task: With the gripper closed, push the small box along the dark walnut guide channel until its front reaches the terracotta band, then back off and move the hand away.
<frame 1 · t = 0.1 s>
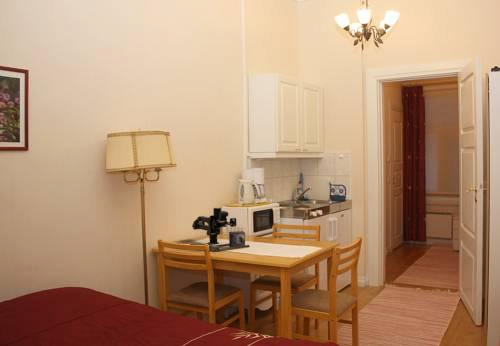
hand: (230, 224, 328), 17 cm above the table, tool horizontal, fingers open, 9 cm apart
guide channel: (229, 247, 330), on the table
small box: (237, 246, 334), on the table
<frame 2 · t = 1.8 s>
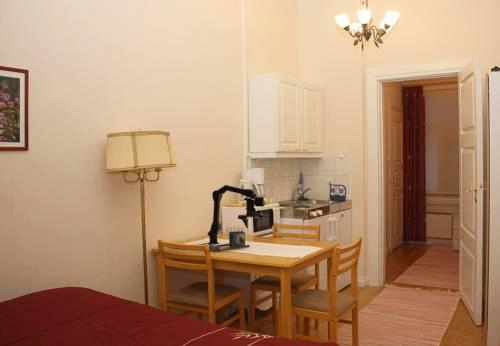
hand: (250, 228, 340), 12 cm above the table, tool pointing down, fingers open, 6 cm apart
nothing on the table moved.
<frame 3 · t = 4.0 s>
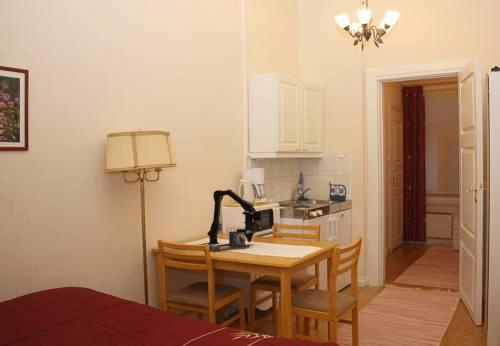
hand: (249, 242, 340), 2 cm above the table, tool pointing down, fingers closed
small box: (237, 246, 334), on the table, touching gripper
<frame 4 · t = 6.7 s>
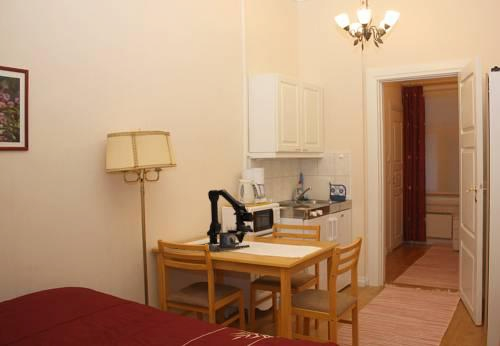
hand: (240, 243, 335), 2 cm above the table, tool pointing down, fingers closed
small box: (227, 248, 329), on the table
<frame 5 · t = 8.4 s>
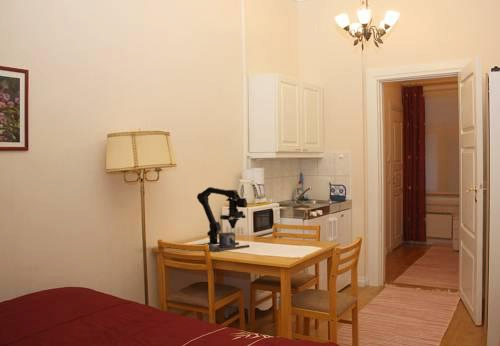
hand: (232, 228, 343), 12 cm above the table, tool pointing down, fingers closed
nothing on the table moved.
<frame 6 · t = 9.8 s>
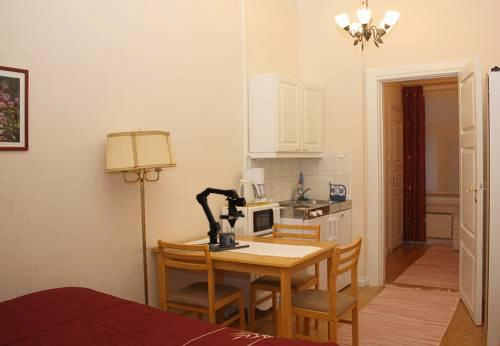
hand: (232, 227, 343), 12 cm above the table, tool pointing down, fingers closed
nothing on the table moved.
at the end: small box inside the target area (0.6 cm from its centre), on the table; small box tilted 0°; the gripper is holding nothing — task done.
